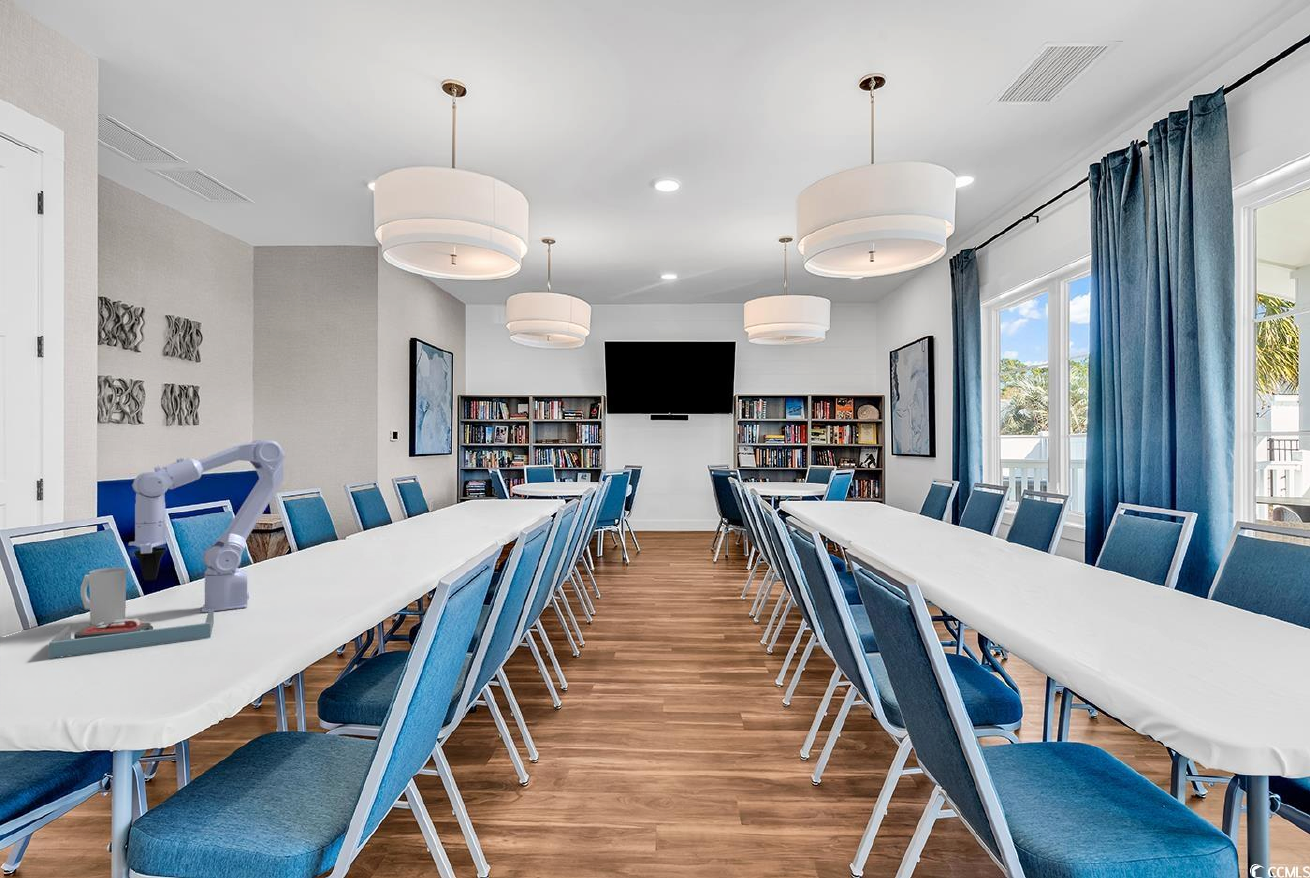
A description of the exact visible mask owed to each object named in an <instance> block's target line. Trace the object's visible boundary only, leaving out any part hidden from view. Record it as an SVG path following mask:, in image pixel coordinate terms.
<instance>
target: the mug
mask: <svg viewBox="0 0 1310 878" xmlns="http://www.w3.org/2000/svg"><path fill="white" fill-rule="evenodd" d="M88 573H89V574H85V575H84V577H83V581H82V583H81V586H80V597H81V600H82V604H83V606H84V609H85V610H89V618H90V619H89V620H90V625H93V626H96V625H97V624H99V623H101V622H104V625H108V624H110V623H112V622H114V621H116V620H119V619H126V609H127V607H126V606H127V605H126V603H127V600H126V599H127V568H126V567H109V568H100V569H94V570H91V571H89V572H88ZM88 587H89V596H88V593H87V589H88ZM102 625H103V624H102Z"/></svg>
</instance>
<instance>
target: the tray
mask: <svg viewBox="0 0 1310 878" xmlns="http://www.w3.org/2000/svg"><path fill="white" fill-rule="evenodd" d="M214 613H215V611H208V612H207V615H206V619H205V621H204V622H203V623H196V624H187V625H178V626H170V627H161V628H155V629H154V628H153V630H145V631H136V632H128V633H120V634H112V635H104V636H95V637H87V638H79V639H74V638H72V627H71V626H69V627H64V628H63V629H62V630H61V631H60V632H59V633H58V634H57V635H56V636H55V637H54V638H53V639H52V640H51V641H49V643H48V659H49V658H51V659H56V658H55V657H59V658H62V657H61V656H66V657H70V656H69V655H74V656H79V655H81V656H82V655H87V654H95V653H102V652H110V651H111V652H112V651H117V650H118V649H119V650H125V649H126V648H127V649H133V647H134V648H140V647H141V648H142V647H148V646H155V645H157V646H158V645H163V644H171V643H178V642H186V641H192V640H193V641H194V640H201V639H207V638H208V639H209V638H212V637H211V636H212V633H213V629H212V628H214V625H215V624H214V616H215V615H214ZM69 639H71V640H69ZM127 649H126V650H127Z"/></svg>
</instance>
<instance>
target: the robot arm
mask: <svg viewBox="0 0 1310 878" xmlns="http://www.w3.org/2000/svg"><path fill="white" fill-rule="evenodd" d="M285 458H286V455H285V453H284V451H283V448H282V446H281V445H280V444H279V442H277V441H275V440H271V439H267V440H260V439H259V440H258V439H257V440H252V441H251V442H246V443H241V444H238V445H233V446H231V447H228V448H226V449H224V450H221V451H218V452H216V453H213V454H210V455H208V456H206V457H203V458H199V459H198V460H196V459H194V458H191V457H188V458H184V457H179V458H176V461H175V462H173V463H170V464H167V465H165V466H161V467H160V466H156V467H153V469H154V471H146V472H142V473H140V474H138V475H137V476H136V477H135V478H134V479H133V483H132V484H131V487H132V489H133V491H134V492H135V504H134V534H135V535H134V541H129V542H128V546H135V547H137V548H140V549H139V550H135V551H134V556H135V557H136V559H137V561H138V563H139V564H140V568H141V569H140V570H141V573H142V577H143V580H144V581H155V580H156V579H157V577H158V574H159V569H160V566H161V565H160V564H161V562H162V558H163V556H164V553H165V552H166V550H167V547H162V545H166V544H167V539H166V501H165V500H166V498H165V497H166V496H165V493H166V492H167V491H168V490H173V489H176V488H178V487H182V486H183V485H187V484H189V483H193V482H194V481H198V480H200V479H201V477H202V475H203V473H204V472H207V471H210V470H213V469H215V468H219V467H222V466H225V465H228V464H231V463H233V462H238V461H243V462H244V461H245V462H246V461H247V462H250V464H251V465H252V466H253V467H254V468H255V471H256V474H257V476H258V478H259V479H258V480H257V482H256V483H255V485H254V486H253V488H252V489H251V491H250V493H249V494H248V495H247V498H246V499H245V501H244V502H243V503H242V505H241V507H240V509H238V511H237V513H235V514H236V515H235V516H234V518H233V519H232V521H231V522H230V523H229V526H228V527H227V528H226V530H225V532H224V533H222V534H221V535H220V536H219V537H218V538H217V539H216V541H215V542H214V543H213V544H212V545H210V546H209V547H207V548H206V549H205V550H204V552H203V554H202V562H203V564H204V566H206V570H205V571H204V604H203V605H202V609H201V613H208V611H214V612H217V611H225V610H226V611H227V610H236V609H242V608H248V600H250V592H249V591H248V570H240V567H239V566H240V565H241V563H242V555H243V552H244V551H245V549H246V541H247V539H248V538H249V535H251V533H252V531H253V529H254V528H255V526H256V524H257V523H258V521H259V520H260V518H261V517H262V514H264V513H265V512H264V511H266V508H267V507H268V505H269V503H271V500H272V499H273V497H274V495H275V494H276V493H277V491H278V490H279V488H280V486H281V484H282V483H283V482H284V474H285V473H284V467H285V466H284V461H285ZM158 546H161V547H158Z"/></svg>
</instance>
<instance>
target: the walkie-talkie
mask: <svg viewBox="0 0 1310 878" xmlns="http://www.w3.org/2000/svg"><path fill="white" fill-rule="evenodd" d="M118 623H119V624H118ZM120 623H123V624H120ZM102 624H104V622H101V623H99V624H97V625H93V626H86V627H83V628H81V629H79V630H77V631H76V632H74V633H73V634H74V636H73V637H74V638H73V639H79V638H87V637H95V636H104V635H112V634H120V633H128V632H136V631H145V630H153V629H154V627H153V625H151V623H150V622H142V620H141V619H140V618H138V617H137V618H125V619H119V620H116V621H114V622H112V623H110V624H104V625H102ZM71 639H72V638H71ZM71 639H69V640H71Z"/></svg>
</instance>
